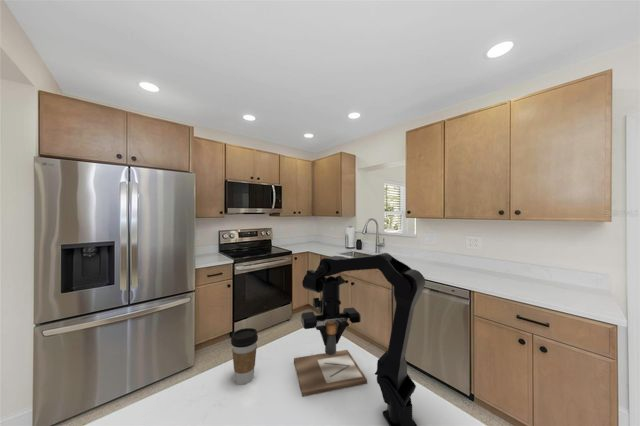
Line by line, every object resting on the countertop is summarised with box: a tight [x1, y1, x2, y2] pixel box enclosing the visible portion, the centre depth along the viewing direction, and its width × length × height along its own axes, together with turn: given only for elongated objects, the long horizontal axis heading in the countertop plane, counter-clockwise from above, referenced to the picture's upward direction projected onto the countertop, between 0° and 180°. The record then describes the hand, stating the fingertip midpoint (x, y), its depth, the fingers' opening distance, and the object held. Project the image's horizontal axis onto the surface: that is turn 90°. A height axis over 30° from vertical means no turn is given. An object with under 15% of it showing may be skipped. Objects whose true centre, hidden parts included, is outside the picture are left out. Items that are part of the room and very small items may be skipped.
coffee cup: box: [230, 327, 259, 385], centre depth 76 cm, size 8×8×15 cm
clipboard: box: [293, 349, 368, 397], centre depth 79 cm, size 17×21×2 cm
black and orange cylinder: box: [324, 320, 337, 355], centre depth 75 cm, size 4×4×9 cm
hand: (330, 344), depth 75 cm, fingers closed on black and orange cylinder, 4 cm apart
